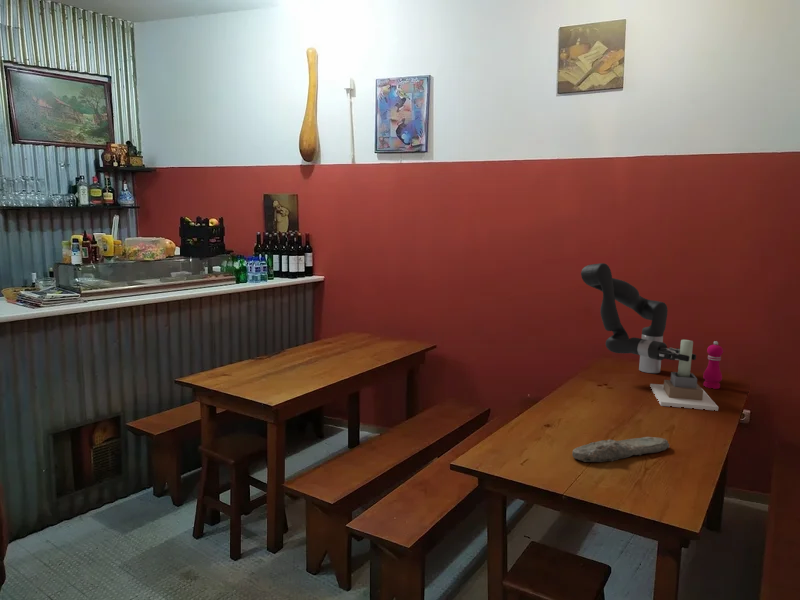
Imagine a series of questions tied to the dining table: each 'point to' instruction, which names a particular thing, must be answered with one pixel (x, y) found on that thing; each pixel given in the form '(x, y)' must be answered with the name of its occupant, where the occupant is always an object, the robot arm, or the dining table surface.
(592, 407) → the dining table surface
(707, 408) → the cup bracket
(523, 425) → the dining table surface
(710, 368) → the pepper mill
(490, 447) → the dining table surface
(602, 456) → the elongated rock
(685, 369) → the green dowel
